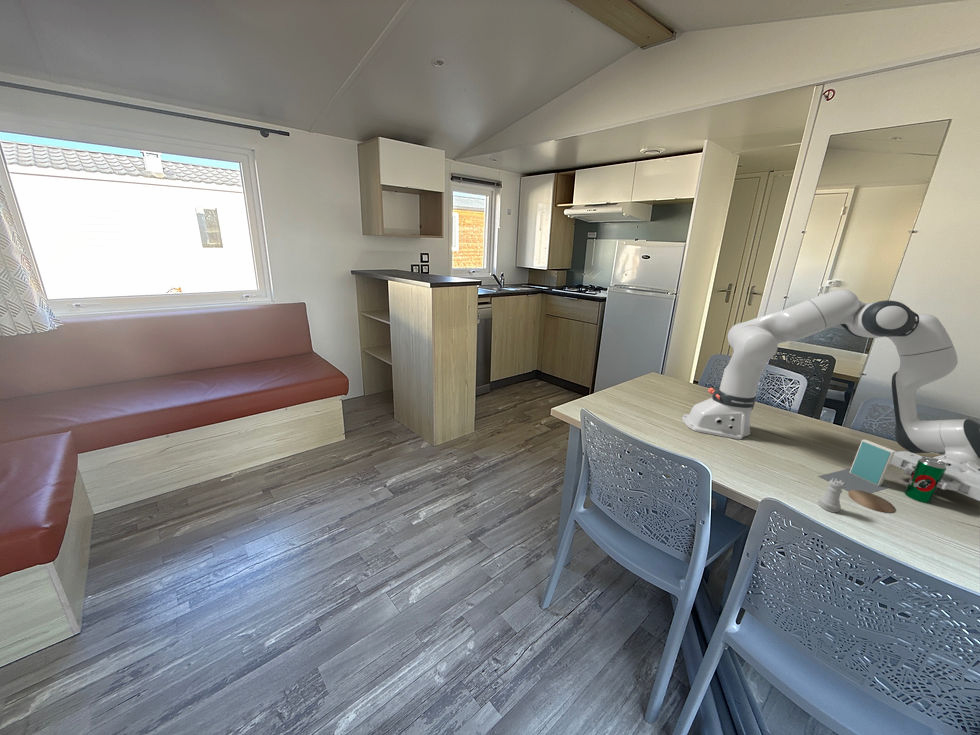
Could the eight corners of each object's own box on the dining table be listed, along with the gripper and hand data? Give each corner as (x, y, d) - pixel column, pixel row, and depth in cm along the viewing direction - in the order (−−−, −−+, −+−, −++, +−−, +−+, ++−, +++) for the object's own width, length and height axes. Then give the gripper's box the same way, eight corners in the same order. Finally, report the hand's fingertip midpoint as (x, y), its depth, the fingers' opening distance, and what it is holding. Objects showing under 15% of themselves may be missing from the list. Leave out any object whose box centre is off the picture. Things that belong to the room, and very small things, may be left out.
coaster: (863, 511, 98) (864, 508, 98) (839, 490, 107) (840, 488, 106) (903, 516, 97) (904, 514, 96) (875, 495, 105) (877, 492, 105)
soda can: (935, 506, 102) (954, 466, 98) (913, 502, 103) (931, 464, 99) (919, 494, 106) (936, 457, 103) (898, 491, 107) (914, 454, 104)
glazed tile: (852, 471, 116) (865, 439, 112) (881, 484, 109) (895, 451, 106) (849, 472, 115) (861, 440, 112) (877, 485, 109) (892, 452, 105)
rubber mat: (848, 469, 117) (849, 468, 117) (889, 488, 108) (890, 487, 108) (817, 477, 112) (817, 476, 112) (857, 498, 103) (858, 496, 103)
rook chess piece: (812, 502, 101) (822, 476, 98) (827, 501, 101) (837, 476, 99) (828, 513, 97) (838, 486, 94) (844, 513, 97) (854, 486, 95)
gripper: (906, 443, 115) (879, 449, 111) (1012, 481, 97) (985, 490, 92) (898, 461, 117) (872, 468, 112) (1000, 502, 99) (974, 512, 94)
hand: (924, 478), depth 102 cm, fingers closed on soda can, 5 cm apart
